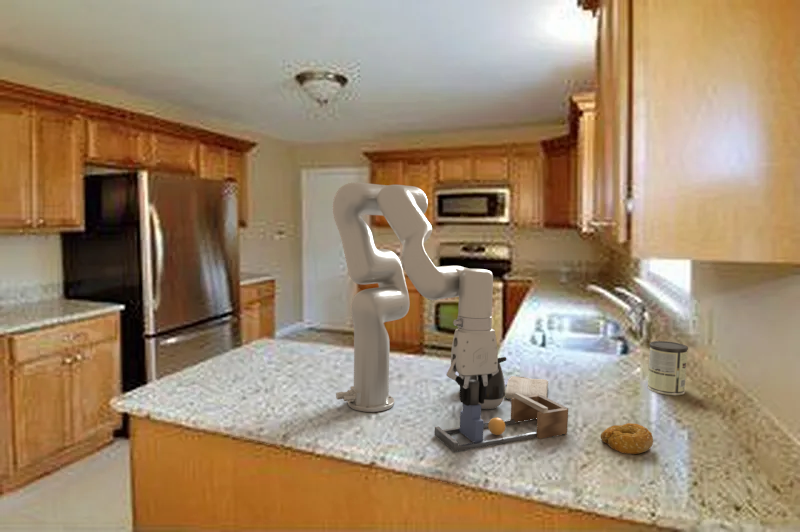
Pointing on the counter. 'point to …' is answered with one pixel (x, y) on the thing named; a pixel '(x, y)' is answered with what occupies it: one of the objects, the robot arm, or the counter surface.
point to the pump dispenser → (494, 388)
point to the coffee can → (667, 367)
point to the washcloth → (526, 386)
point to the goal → (540, 414)
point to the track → (454, 446)
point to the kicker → (472, 415)
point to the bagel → (628, 438)
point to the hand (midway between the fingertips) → (472, 402)
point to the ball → (496, 426)
